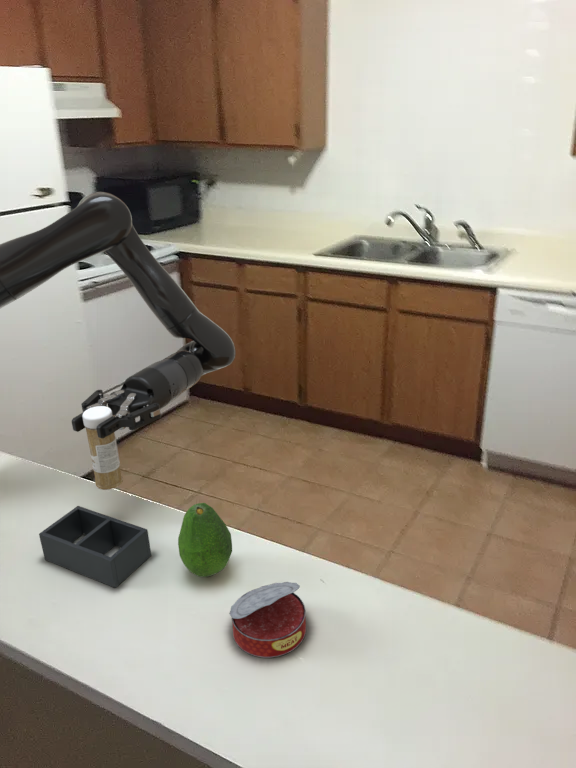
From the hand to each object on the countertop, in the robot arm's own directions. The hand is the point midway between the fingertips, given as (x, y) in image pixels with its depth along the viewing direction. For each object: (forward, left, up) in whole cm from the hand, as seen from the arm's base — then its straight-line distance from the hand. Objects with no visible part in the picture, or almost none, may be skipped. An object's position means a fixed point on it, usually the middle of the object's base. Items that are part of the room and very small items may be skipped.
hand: (86, 429), depth 104 cm
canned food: (+36, -7, -19) cm, 41 cm away
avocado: (+22, -1, -19) cm, 29 cm away
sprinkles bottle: (0, +3, -12) cm, 12 cm away
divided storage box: (+4, -6, -19) cm, 20 cm away
